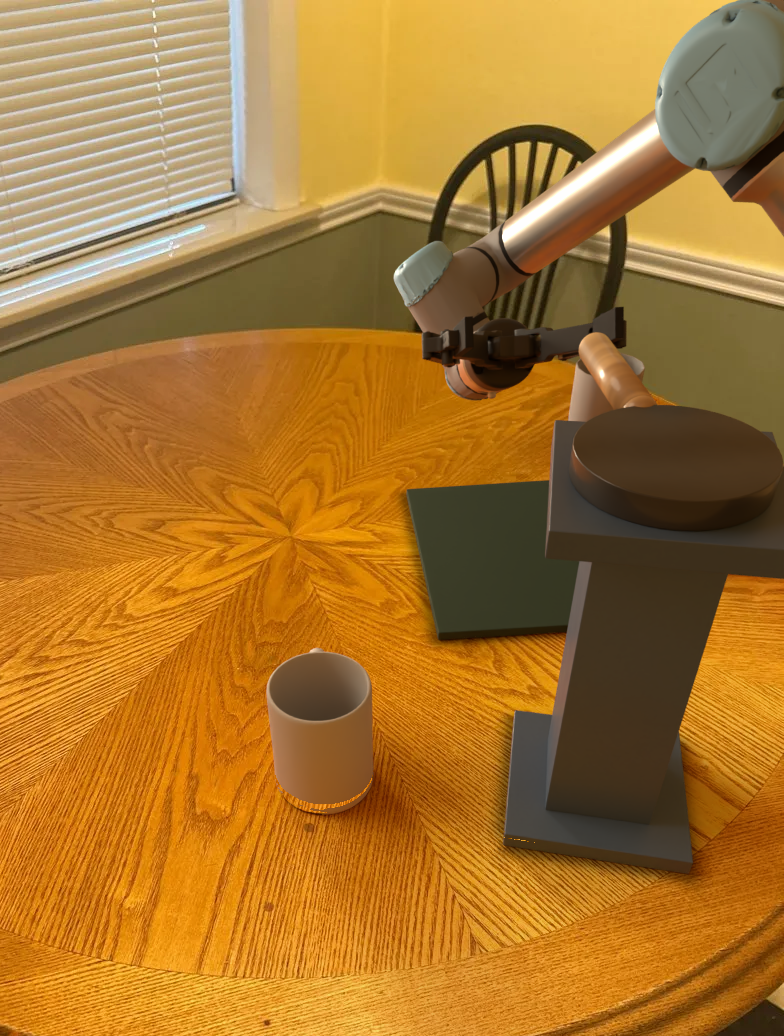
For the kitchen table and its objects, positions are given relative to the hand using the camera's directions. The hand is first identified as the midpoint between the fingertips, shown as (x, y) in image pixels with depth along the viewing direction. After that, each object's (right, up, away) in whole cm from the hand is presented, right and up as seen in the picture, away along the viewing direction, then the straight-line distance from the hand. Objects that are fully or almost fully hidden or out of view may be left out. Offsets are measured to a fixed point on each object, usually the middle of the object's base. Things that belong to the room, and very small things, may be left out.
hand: (544, 327), depth 81 cm
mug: (-20, -39, -2) cm, 44 cm away
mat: (0, -19, +20) cm, 28 cm away
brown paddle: (+1, -14, -21) cm, 25 cm away
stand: (+3, -41, -6) cm, 42 cm away
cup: (+18, -1, +40) cm, 44 cm away
